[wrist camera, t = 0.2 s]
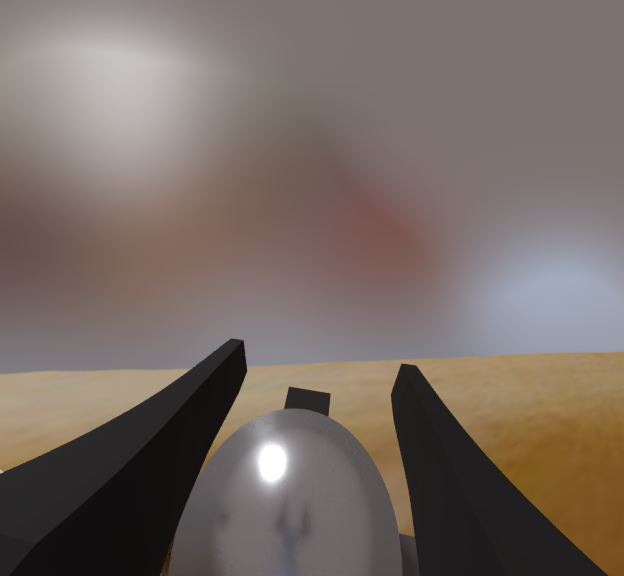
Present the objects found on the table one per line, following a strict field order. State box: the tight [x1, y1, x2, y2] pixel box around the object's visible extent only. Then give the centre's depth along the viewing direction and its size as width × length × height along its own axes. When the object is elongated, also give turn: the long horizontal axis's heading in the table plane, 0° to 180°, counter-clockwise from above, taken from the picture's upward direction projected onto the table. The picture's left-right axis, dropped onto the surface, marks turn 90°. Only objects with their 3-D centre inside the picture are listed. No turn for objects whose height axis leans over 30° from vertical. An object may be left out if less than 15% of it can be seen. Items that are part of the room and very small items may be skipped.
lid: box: [168, 387, 402, 576], centre depth 16 cm, size 17×15×1 cm
